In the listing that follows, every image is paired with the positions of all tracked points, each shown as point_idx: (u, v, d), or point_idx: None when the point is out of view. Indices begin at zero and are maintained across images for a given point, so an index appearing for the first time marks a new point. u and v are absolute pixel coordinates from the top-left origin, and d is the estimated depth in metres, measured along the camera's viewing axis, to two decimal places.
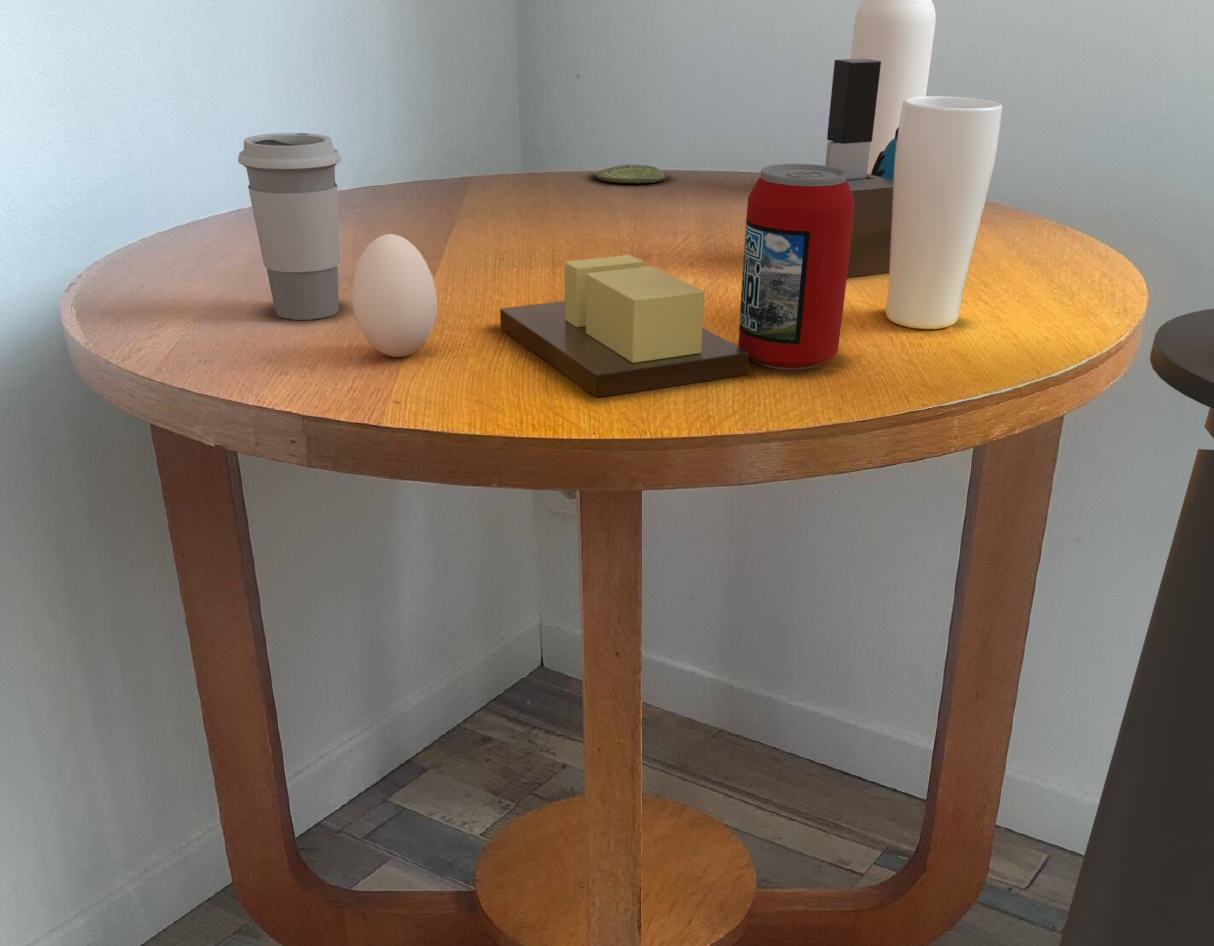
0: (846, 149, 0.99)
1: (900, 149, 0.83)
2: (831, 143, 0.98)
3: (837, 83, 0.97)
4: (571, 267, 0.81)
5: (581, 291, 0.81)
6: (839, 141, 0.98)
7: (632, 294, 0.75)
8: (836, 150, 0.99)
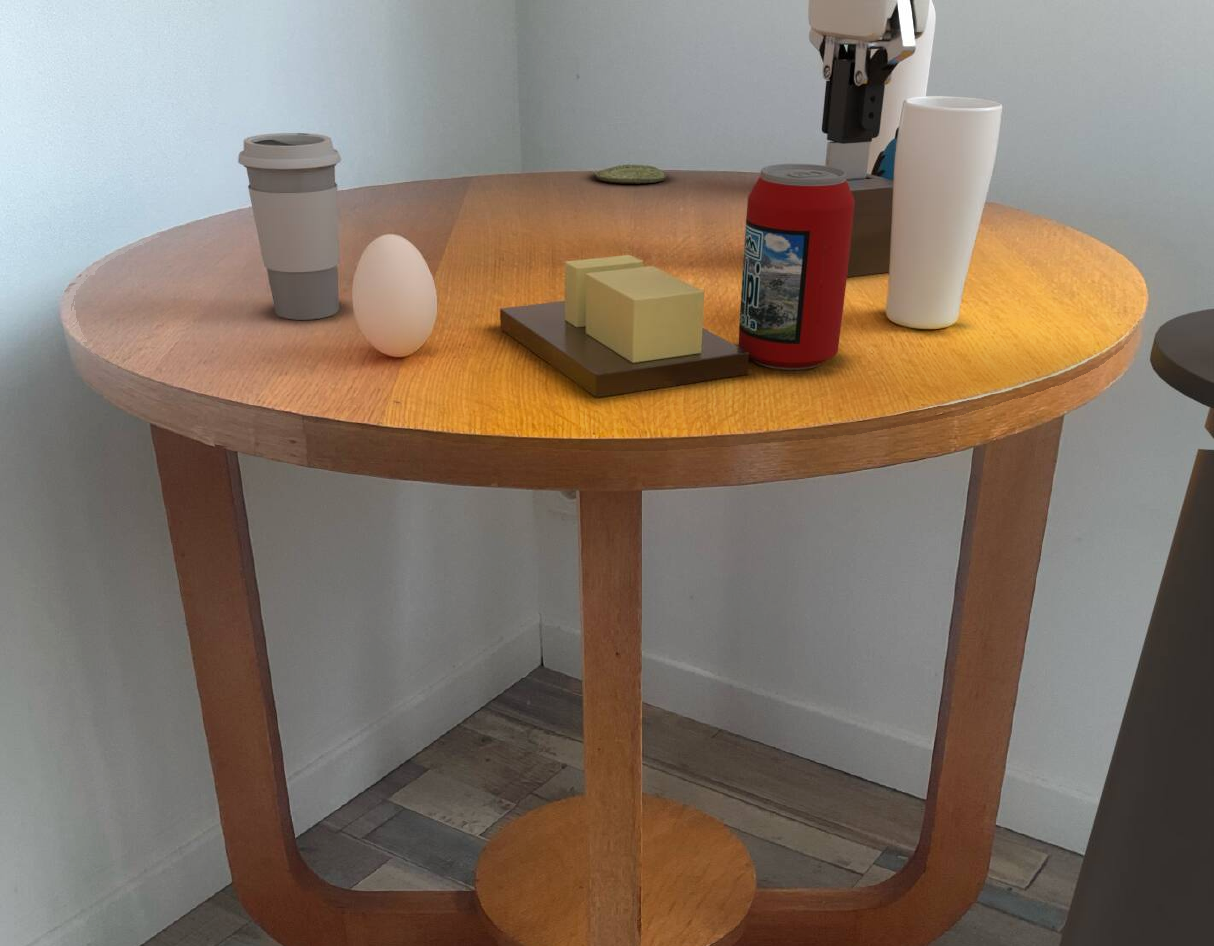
0: (846, 149, 0.99)
1: (900, 149, 0.83)
2: (831, 143, 0.98)
3: (837, 83, 0.97)
4: (571, 267, 0.81)
5: (581, 291, 0.81)
6: (839, 141, 0.98)
7: (632, 294, 0.75)
8: (836, 150, 0.99)
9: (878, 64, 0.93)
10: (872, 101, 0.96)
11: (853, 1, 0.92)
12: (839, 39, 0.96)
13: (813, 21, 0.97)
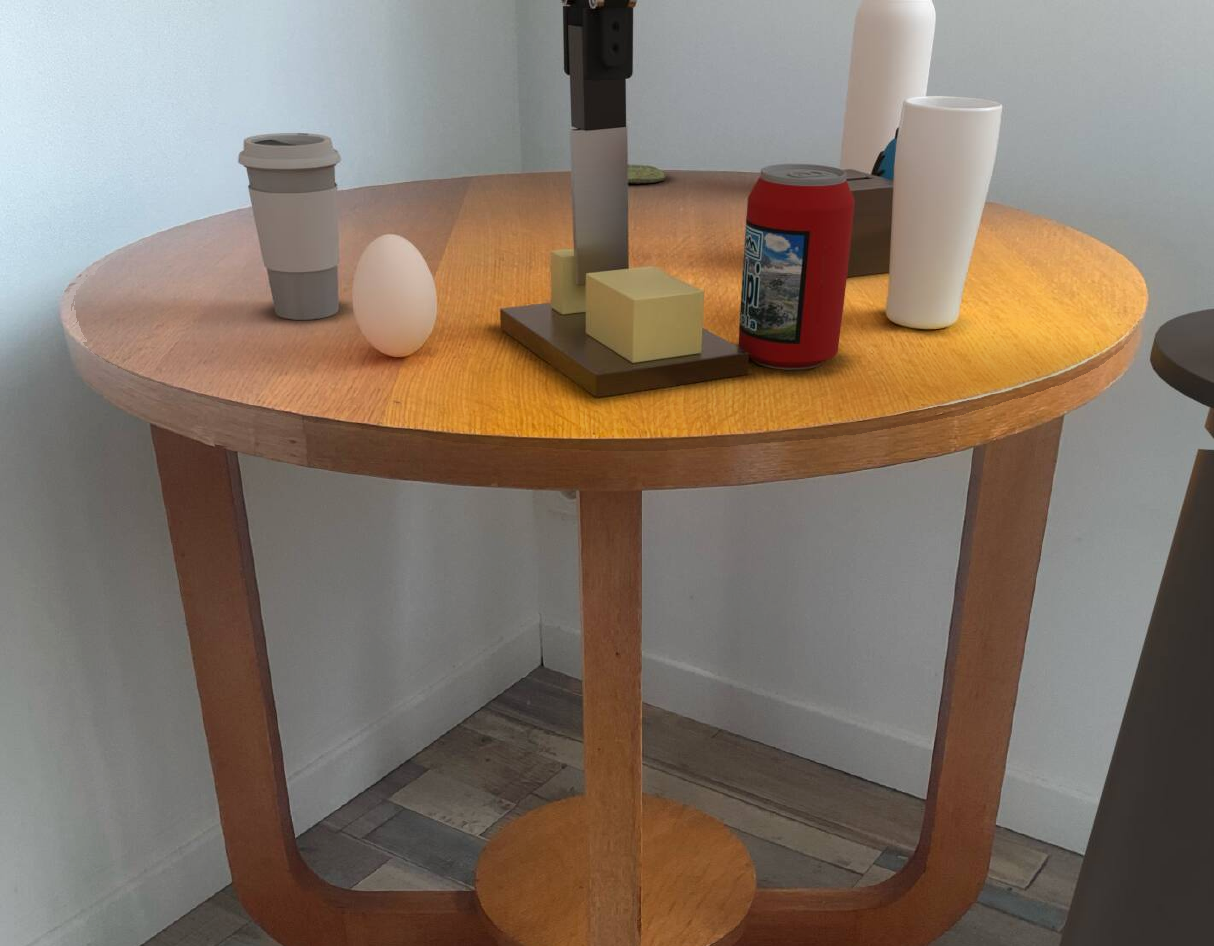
0: (595, 137, 0.79)
1: (900, 149, 0.83)
2: (573, 130, 0.78)
3: (573, 55, 0.76)
4: (556, 256, 0.83)
5: (567, 280, 0.84)
6: (582, 127, 0.78)
7: (632, 294, 0.75)
8: (581, 139, 0.78)
9: None
10: (616, 29, 0.74)
11: None
12: None
13: None
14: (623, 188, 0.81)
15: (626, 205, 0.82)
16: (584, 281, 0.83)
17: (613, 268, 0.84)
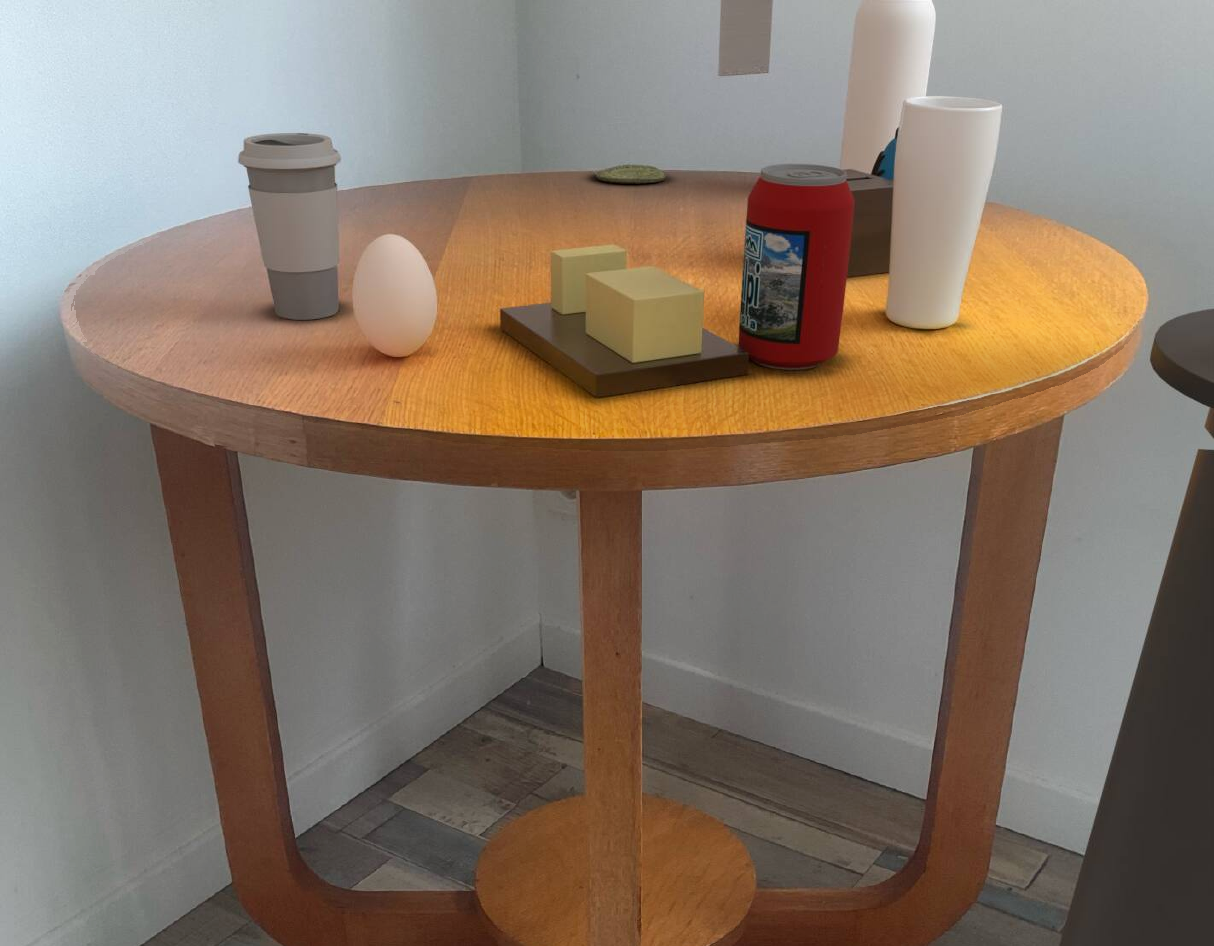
0: None
1: (900, 149, 0.83)
2: None
3: None
4: (556, 256, 0.83)
5: (567, 280, 0.84)
6: None
7: (632, 294, 0.75)
8: None
9: None
10: None
11: None
12: None
13: None
14: None
15: None
16: (728, 72, 0.86)
17: (755, 61, 0.87)
